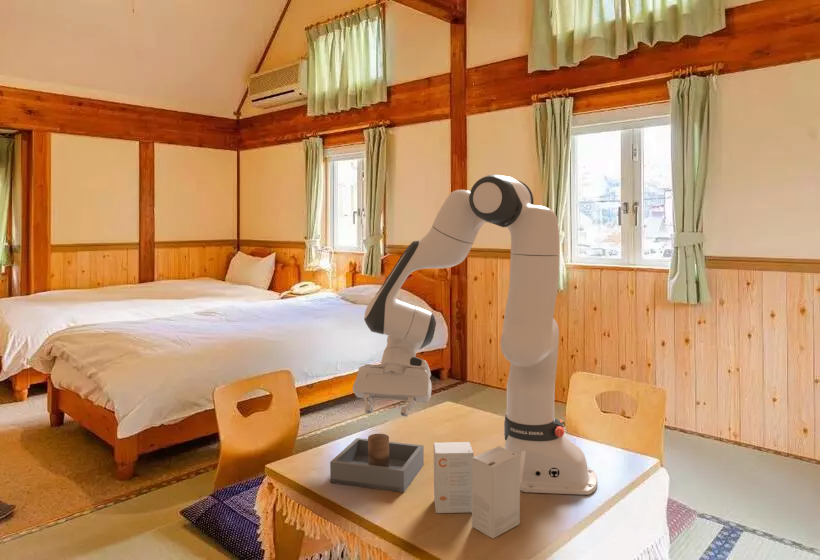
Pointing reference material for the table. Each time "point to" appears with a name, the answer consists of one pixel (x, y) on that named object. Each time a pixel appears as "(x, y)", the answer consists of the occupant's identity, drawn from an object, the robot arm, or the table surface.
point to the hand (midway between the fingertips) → (385, 413)
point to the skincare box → (495, 491)
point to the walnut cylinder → (378, 450)
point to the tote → (357, 472)
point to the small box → (453, 477)
